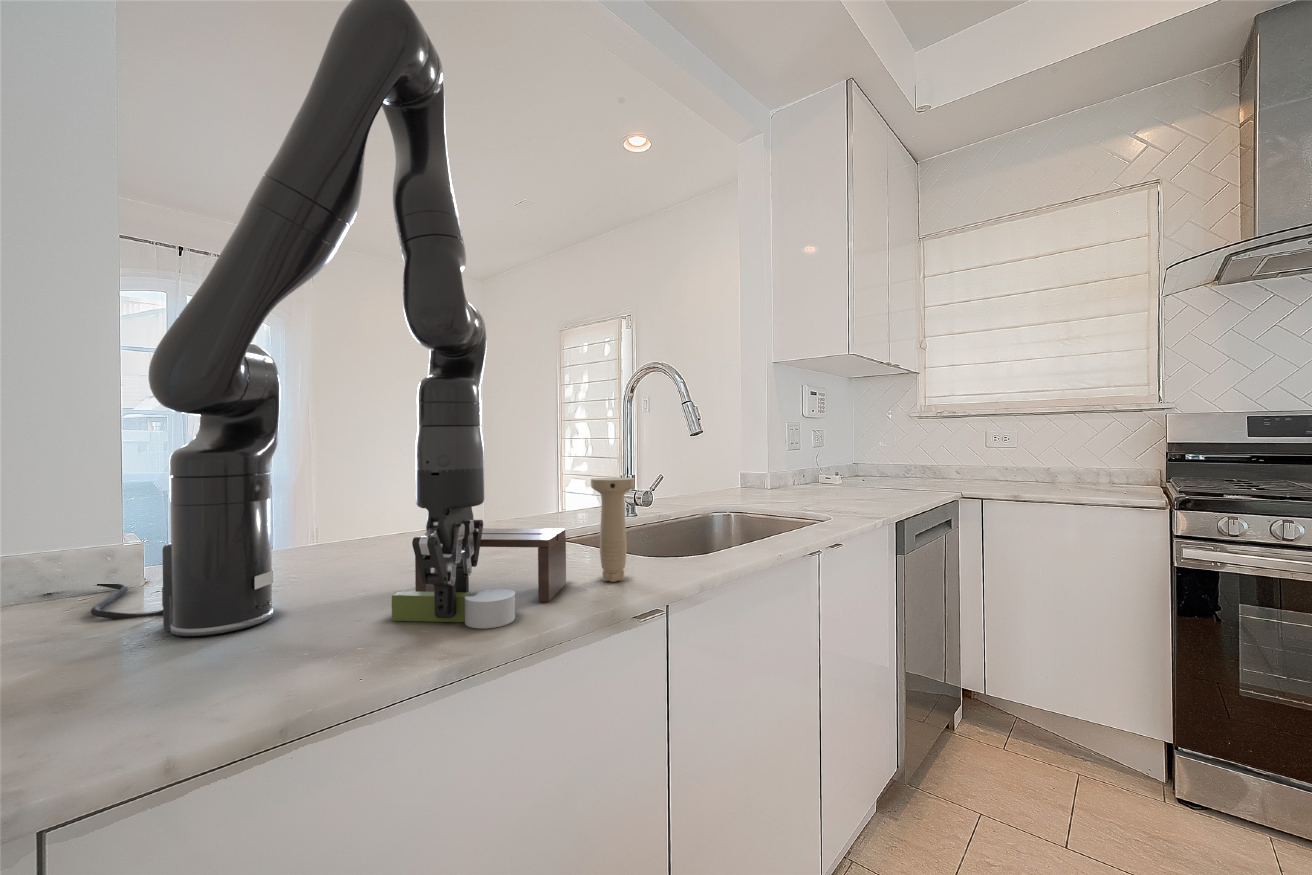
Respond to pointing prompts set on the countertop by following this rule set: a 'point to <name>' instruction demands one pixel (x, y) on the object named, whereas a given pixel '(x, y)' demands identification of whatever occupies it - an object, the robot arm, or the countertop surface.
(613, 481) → the handle
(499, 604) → the green handled white cylinder
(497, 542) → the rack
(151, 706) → the countertop surface
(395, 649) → the countertop surface
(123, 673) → the countertop surface
